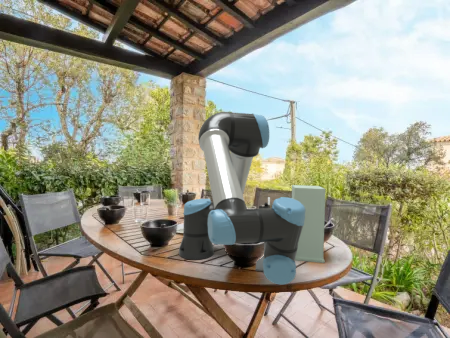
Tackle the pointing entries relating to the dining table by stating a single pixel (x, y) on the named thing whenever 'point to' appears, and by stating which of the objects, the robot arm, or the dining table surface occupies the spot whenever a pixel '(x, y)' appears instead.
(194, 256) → the robot arm
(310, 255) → the stand
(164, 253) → the dining table surface
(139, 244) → the dining table surface
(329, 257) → the dining table surface
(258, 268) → the mat
